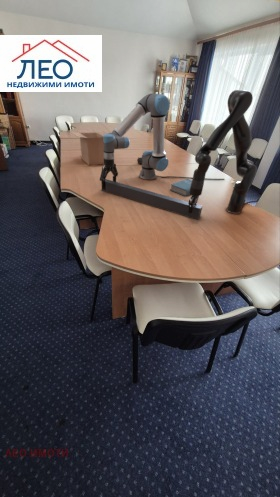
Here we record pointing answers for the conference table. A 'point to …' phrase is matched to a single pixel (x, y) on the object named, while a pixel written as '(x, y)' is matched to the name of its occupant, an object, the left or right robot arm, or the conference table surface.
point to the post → (153, 199)
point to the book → (182, 187)
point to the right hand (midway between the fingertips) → (191, 211)
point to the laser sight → (140, 160)
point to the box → (91, 146)
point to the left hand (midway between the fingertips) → (109, 186)
